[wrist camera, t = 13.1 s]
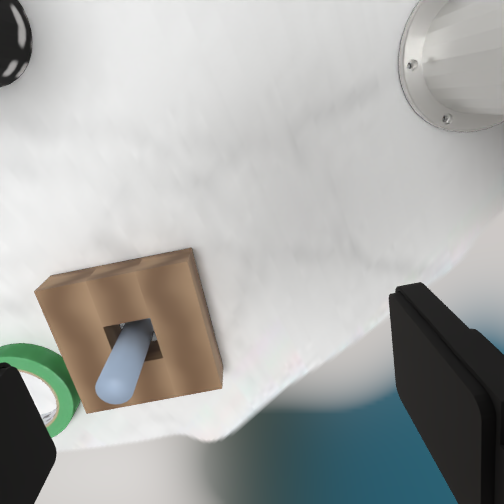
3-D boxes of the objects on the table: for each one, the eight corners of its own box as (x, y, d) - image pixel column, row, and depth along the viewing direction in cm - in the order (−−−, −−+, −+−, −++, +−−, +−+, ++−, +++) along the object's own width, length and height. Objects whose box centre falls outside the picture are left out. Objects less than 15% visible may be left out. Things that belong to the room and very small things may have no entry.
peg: (150, 308, 41) (127, 370, 32) (159, 333, 42) (138, 400, 33) (122, 314, 41) (89, 377, 32) (131, 339, 42) (102, 407, 33)
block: (191, 247, 39) (187, 261, 35) (223, 366, 44) (222, 388, 40) (50, 275, 39) (34, 291, 36) (97, 390, 44) (86, 413, 41)
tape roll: (10, 436, 46) (-2, 455, 44) (-44, 359, 42) (-61, 375, 40) (99, 409, 45) (91, 427, 43) (52, 328, 42) (40, 343, 39)
